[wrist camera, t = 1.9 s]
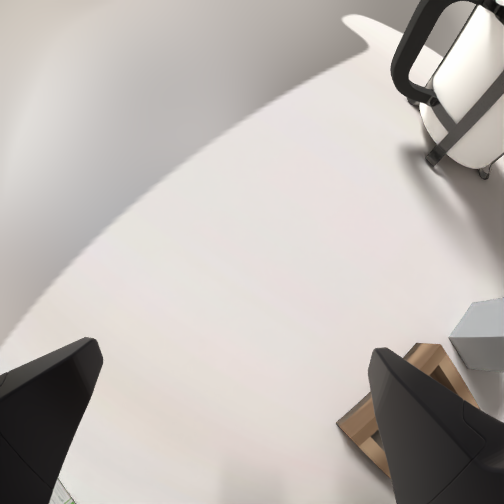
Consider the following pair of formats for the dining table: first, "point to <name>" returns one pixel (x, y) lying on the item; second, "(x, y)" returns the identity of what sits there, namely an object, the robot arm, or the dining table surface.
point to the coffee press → (459, 84)
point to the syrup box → (60, 495)
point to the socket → (362, 415)
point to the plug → (481, 336)
